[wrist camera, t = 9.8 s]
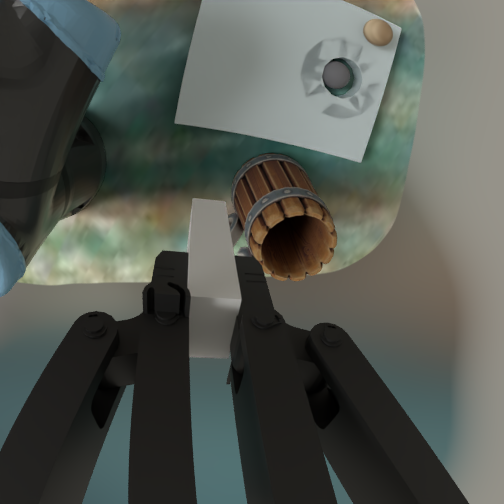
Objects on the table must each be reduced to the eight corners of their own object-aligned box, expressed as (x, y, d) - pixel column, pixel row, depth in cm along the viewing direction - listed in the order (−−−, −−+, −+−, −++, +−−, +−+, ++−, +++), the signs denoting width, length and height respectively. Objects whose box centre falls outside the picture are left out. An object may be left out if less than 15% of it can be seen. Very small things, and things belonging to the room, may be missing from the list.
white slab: (176, 119, 35) (174, 123, 33) (212, -29, 25) (212, -35, 23) (353, 157, 41) (360, 162, 39) (391, 28, 31) (401, 28, 29)
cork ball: (355, 39, 30) (368, 38, 27) (361, 15, 28) (375, 12, 25) (379, 50, 30) (394, 50, 27) (386, 27, 29) (401, 25, 26)
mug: (279, 135, 38) (316, 173, 26) (320, 194, 43) (365, 252, 31) (185, 206, 42) (177, 274, 29) (233, 255, 47) (244, 329, 35)
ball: (320, 84, 35) (314, 82, 33) (328, 60, 34) (322, 55, 31) (347, 93, 35) (343, 91, 32) (355, 68, 33) (351, 63, 30)
